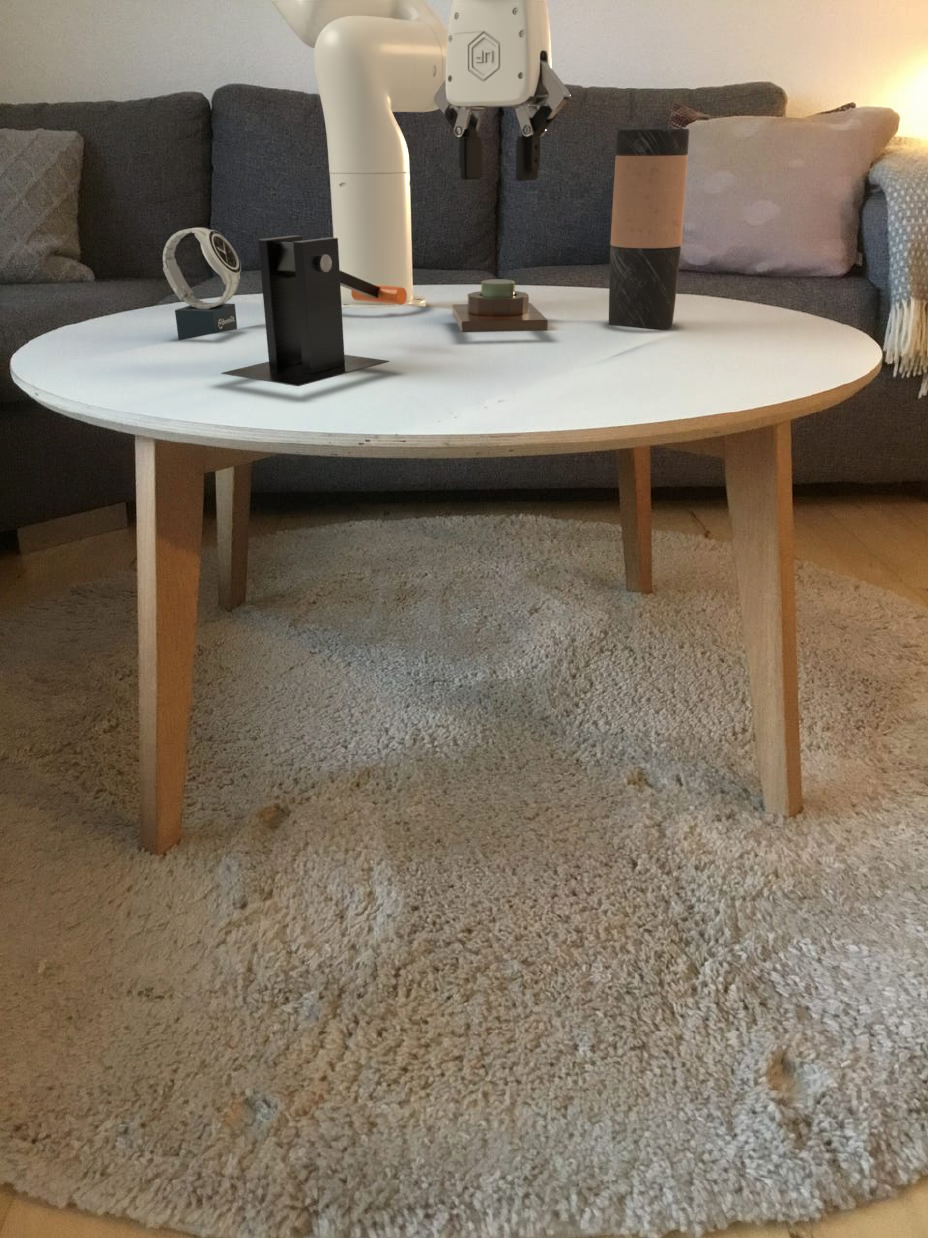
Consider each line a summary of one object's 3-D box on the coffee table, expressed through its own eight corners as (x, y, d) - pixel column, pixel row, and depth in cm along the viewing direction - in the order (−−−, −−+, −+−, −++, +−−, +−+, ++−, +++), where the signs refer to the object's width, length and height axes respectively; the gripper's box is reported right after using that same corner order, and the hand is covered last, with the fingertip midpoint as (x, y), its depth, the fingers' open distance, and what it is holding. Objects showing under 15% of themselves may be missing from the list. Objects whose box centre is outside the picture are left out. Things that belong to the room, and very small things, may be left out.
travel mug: (680, 332, 110) (697, 128, 102) (610, 332, 110) (620, 129, 102) (668, 320, 117) (683, 128, 109) (602, 320, 117) (612, 129, 109)
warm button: (479, 296, 111) (479, 279, 110) (512, 295, 111) (512, 278, 110) (483, 300, 108) (483, 283, 107) (516, 300, 108) (517, 283, 107)
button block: (452, 324, 116) (452, 287, 114) (530, 322, 117) (530, 286, 115) (461, 343, 105) (461, 303, 103) (547, 341, 106) (548, 301, 104)
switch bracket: (316, 363, 96) (307, 230, 91) (390, 373, 92) (385, 235, 87) (222, 386, 87) (206, 241, 82) (298, 399, 83) (287, 247, 78)
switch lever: (359, 306, 97) (363, 280, 96) (404, 311, 94) (409, 284, 94) (262, 269, 86) (266, 240, 85) (310, 273, 83) (315, 243, 82)
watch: (233, 342, 106) (222, 230, 102) (163, 339, 108) (149, 229, 103) (254, 333, 111) (244, 226, 107) (187, 330, 113) (174, 225, 108)
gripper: (405, -23, 98) (410, 179, 106) (559, -40, 89) (552, 182, 97) (449, -14, 104) (451, 177, 112) (599, -30, 95) (590, 179, 103)
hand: (498, 177), depth 104 cm, fingers open, 6 cm apart
